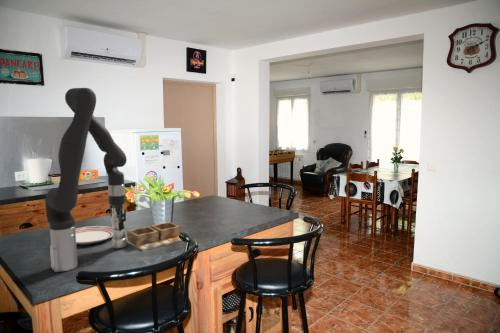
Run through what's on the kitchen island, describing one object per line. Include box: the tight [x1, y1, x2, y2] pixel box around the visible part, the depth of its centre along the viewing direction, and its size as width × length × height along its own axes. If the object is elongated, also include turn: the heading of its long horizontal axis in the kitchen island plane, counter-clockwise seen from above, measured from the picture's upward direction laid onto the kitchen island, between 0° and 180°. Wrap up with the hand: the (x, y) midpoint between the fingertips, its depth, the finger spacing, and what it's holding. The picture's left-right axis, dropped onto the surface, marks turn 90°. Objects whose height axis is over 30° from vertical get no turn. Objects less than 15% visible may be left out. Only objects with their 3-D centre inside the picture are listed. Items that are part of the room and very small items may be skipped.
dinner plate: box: [75, 225, 113, 245], centre depth 185 cm, size 27×27×3 cm
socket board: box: [126, 221, 183, 252], centre depth 180 cm, size 24×18×6 cm
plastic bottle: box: [110, 207, 128, 249], centre depth 170 cm, size 6×7×20 cm
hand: (118, 228), depth 170 cm, fingers closed on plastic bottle, 6 cm apart
